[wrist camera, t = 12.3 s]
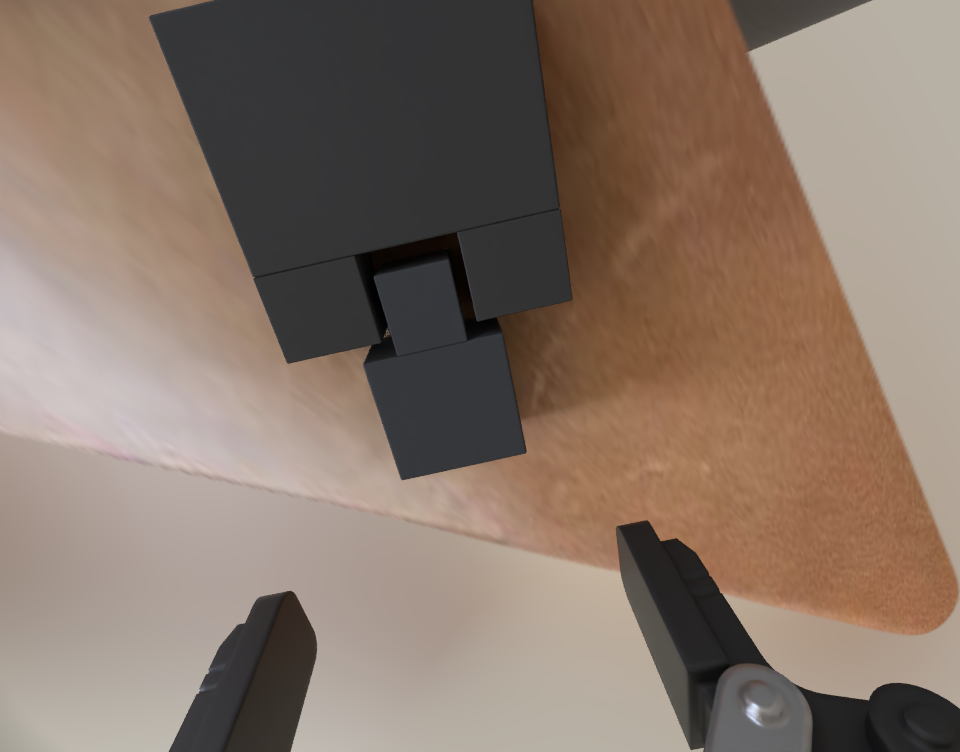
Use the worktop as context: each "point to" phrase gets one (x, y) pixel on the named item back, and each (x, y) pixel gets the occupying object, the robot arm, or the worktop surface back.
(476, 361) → the pad
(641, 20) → the worktop surface
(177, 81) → the base pad
